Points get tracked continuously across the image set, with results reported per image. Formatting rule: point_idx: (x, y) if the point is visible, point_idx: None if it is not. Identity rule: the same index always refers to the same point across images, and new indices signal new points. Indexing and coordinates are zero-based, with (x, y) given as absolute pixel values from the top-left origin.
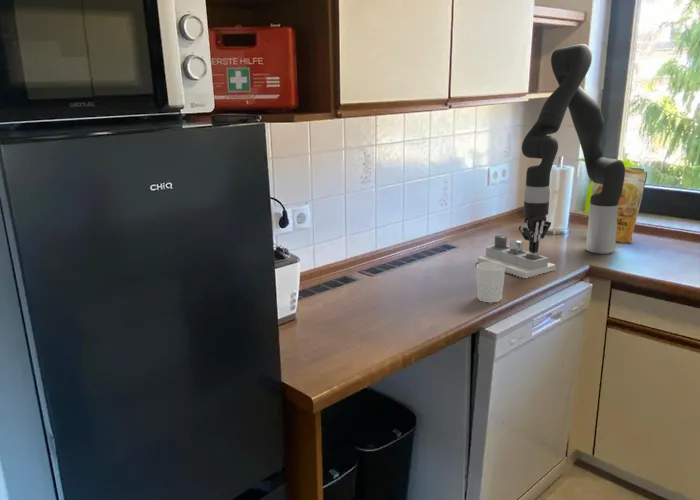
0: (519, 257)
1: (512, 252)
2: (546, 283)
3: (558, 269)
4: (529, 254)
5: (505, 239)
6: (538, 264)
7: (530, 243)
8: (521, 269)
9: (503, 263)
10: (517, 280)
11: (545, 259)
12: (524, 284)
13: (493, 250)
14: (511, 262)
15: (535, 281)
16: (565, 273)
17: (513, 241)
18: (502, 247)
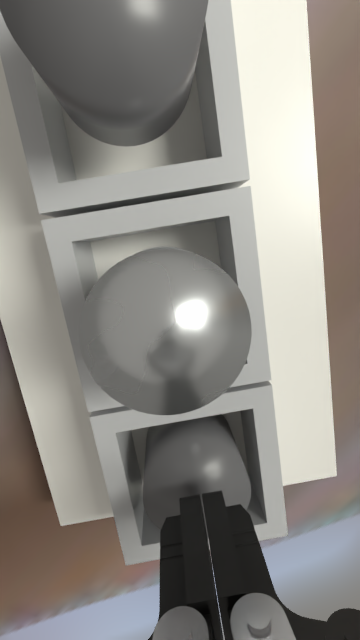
0: (96, 438)
1: (185, 223)
2: (129, 583)
3: (351, 443)
4: (177, 479)
5: (130, 108)
6: None
7: (165, 609)
8: (76, 467)
9: (37, 307)
10: (14, 498)
11: (256, 533)
12: (13, 557)
13: (15, 104)
14: None
15: (97, 543)
16: (328, 507)
17: (108, 338)
18: (101, 141)
